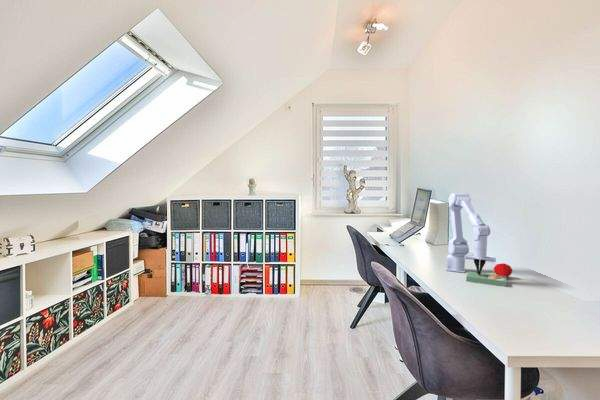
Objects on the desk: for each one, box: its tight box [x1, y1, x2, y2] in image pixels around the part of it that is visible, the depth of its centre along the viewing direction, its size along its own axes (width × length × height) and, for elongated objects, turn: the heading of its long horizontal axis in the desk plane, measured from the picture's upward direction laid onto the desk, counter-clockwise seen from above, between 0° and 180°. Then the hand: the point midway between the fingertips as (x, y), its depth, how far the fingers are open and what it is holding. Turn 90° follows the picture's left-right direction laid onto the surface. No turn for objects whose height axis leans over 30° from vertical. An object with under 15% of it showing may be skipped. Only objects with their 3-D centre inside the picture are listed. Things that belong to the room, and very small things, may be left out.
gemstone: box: [493, 262, 513, 279], centre depth 192 cm, size 9×9×10 cm
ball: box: [490, 273, 498, 279], centre depth 185 cm, size 4×4×4 cm
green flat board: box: [465, 271, 508, 288], centre depth 187 cm, size 18×11×2 cm, turn 62°
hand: (479, 274), depth 189 cm, fingers closed
